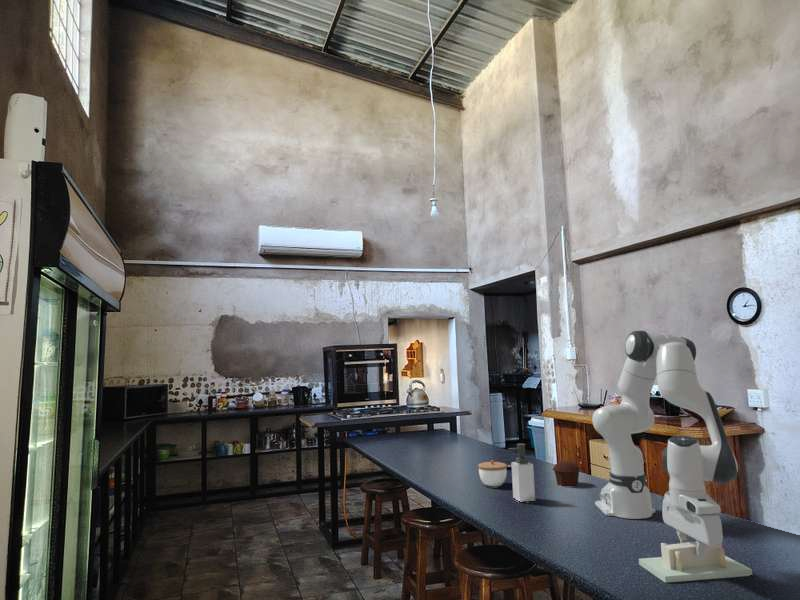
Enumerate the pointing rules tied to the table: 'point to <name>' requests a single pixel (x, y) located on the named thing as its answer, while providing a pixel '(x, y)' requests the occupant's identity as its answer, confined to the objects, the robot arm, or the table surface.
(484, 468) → the lidded bowl
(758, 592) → the table surface
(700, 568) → the rack
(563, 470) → the muffin
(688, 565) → the off-white rectangular block
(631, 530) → the table surface
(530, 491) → the soap dispenser
